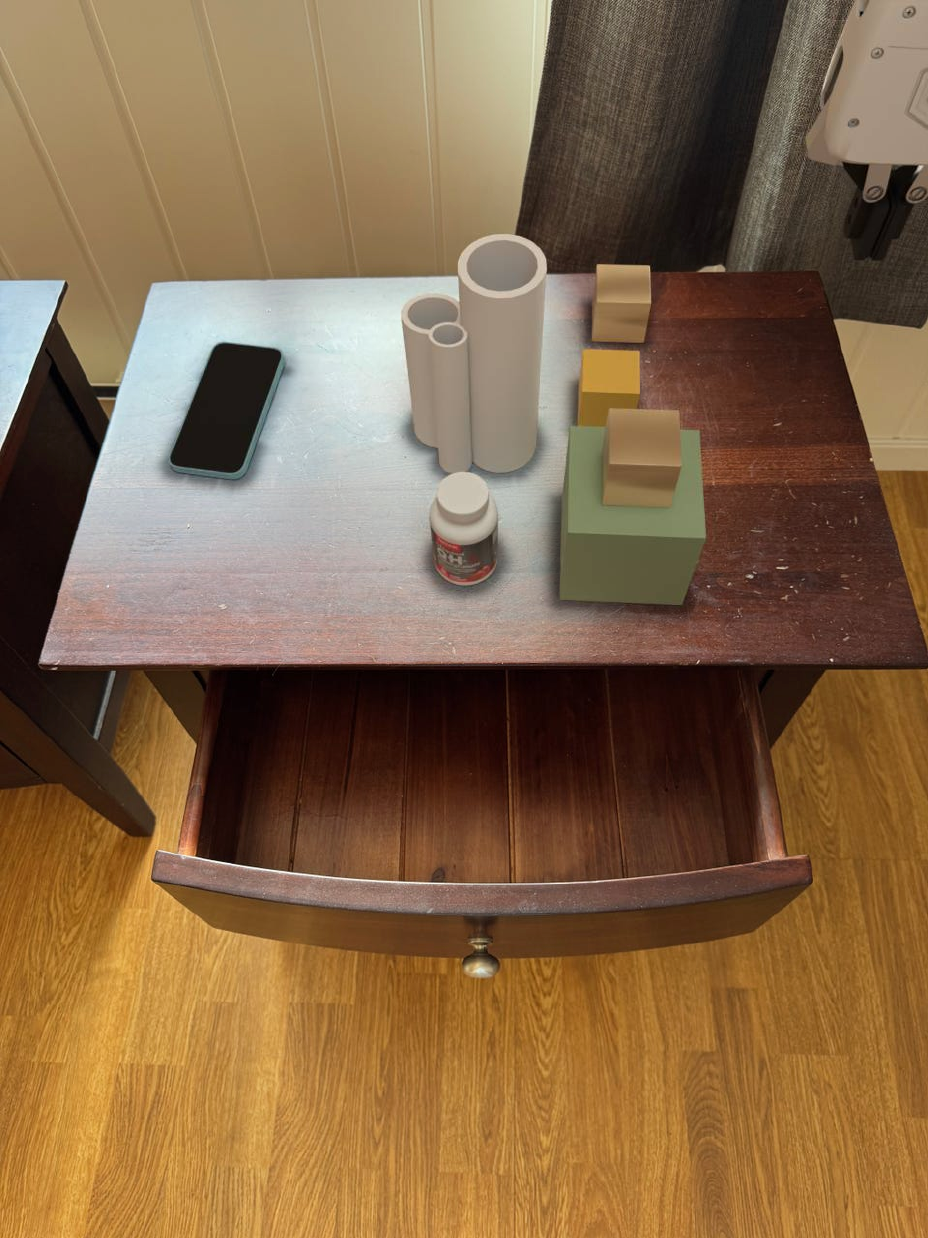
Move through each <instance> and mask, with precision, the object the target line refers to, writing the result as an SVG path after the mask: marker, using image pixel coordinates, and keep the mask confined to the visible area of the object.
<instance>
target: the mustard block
mask: <svg viewBox="0 0 928 1238" xmlns="http://www.w3.org/2000/svg"><path fill="white" fill-rule="evenodd" d="M581 352H582V354H581V363H580V371H579V378H578V379H579V380H578V392H577V393H578V395H577V396H578V397H577V400H578V401H577V402H578V403H577V426H590V427H606V424H607V417H608V411H609V408H616V409H638V406H639V400H640V395H641V378H640V377H641V375H640V374H641V373H640V351H639V350H619V349H618V350H617V349H593V348H591V349H590V348H589V349H587V348H583V349H582V351H581Z"/></svg>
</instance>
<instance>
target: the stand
mask: <svg viewBox="0 0 928 1238" xmlns="http://www.w3.org/2000/svg"><path fill="white" fill-rule="evenodd" d="M568 429H569V430H568V439H567V447H566V457H565V468H564V477H563V478H564V479H563V487H562V495H561V516H560V517H561V521H560V522H561V523H560V553H559V554H560V558H559V559H560V560H559V595H558V596H559V600H560V601H578V602H598V603H600V602H601V603H618V604H619V603H622V604H623V603H624V604H644V605H645V604H646V605H662V606H663V605H664V606H665V605H666V606H667V605H668V606H683V604H684V601H685V598H686V595H687V593H688V590H689V587H690V584H691V581H692V579H693V575H694V573H695V570H696V568H697V565H698V562H699V559H700V556H701V553H702V551H703V549H704V545H705V543H706V540H707V530H706V516H705V515H706V513H705V499H704V483H703V468H702V467H703V466H702V450H701V435H700V434H701V433H700V430H699V429H680V438H681V458H682V467H681V471H680V475H679V478H678V482H677V485H676V489H675V492H674V496H673V499H672V503H671V506H670V508H661V507H635V506H610V505H602V449H603V443H604V437H605V430H606V427H590V426H578V425H570V426H569V428H568Z"/></svg>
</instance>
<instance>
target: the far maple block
mask: <svg viewBox="0 0 928 1238" xmlns="http://www.w3.org/2000/svg"><path fill="white" fill-rule="evenodd" d="M651 289H652V287H651V265H647V264H645V265H644V264H643V265H641V264H603V263H602V264H601V263H597V264H596V267H595V276H594V284H593V293H592V300H591V342H594V343H595V342H597V343H633V344H634V343H635V344H644V342H645V338H646V334H647V333H646V332H647V328H648V323H649V317H650V311H651V308H652V307H651V305H652V290H651Z"/></svg>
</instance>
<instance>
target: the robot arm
mask: <svg viewBox="0 0 928 1238" xmlns="http://www.w3.org/2000/svg"><path fill="white" fill-rule="evenodd" d="M819 105H820V111H819V114H818V116H817V117H816V119H815V121H814V122H813V123H812V126H811V128H810V130H809V131H808V132H807V134H806V136H805V138H804V144H805V149H806V157H807V158H808V159H809V160H810V161H813V162H817V163H819V164H820V163H821V164H825V165H828V166H831V167H837V166H838V167H842V168H843V169H844V171H845V172H846V174H847V175H848V177H850V180H852V181H853V183H854V184H855V186H856V188H855V191H854V193H853V196H852V199H851V201H850V203H849V206H848V210H847V212H846V215H845V218H844V220H843V235H844V238H845V239H848V240H850V244H851V250H852V256H853V260H854V261H865V260H866V259H871V260H872V261H873V262H874V261H875V262H882V261H884V259H885V256H886V254H887V252H888V250H889V248H890V245H891V243H892V241H893V240H898V239H899V238H900V237H901V234H902V232H903V230H904V229H905V226H906V223H907V221H908V219H909V216H910V215H911V212H912V210H913V208H914V206H915V205H916V204H919V203H921V202H923V201H925V200H926V199H927V197H928V0H854V1H853V4H852V6H851V9H850V12H849V14H848V16H847V19H846V21H845V24H844V27H843V28H842V32H841V34H840V36H839V39H838V40H837V44H836V46H835V49H834V52H833V55H832V57H831V60H830V63H829V67H828V69H827V71H826V75H825V78H824V82H823V85H822V89H821V94H820V98H819ZM893 166H898V167H897V168H896V169H892V168H893Z"/></svg>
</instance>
